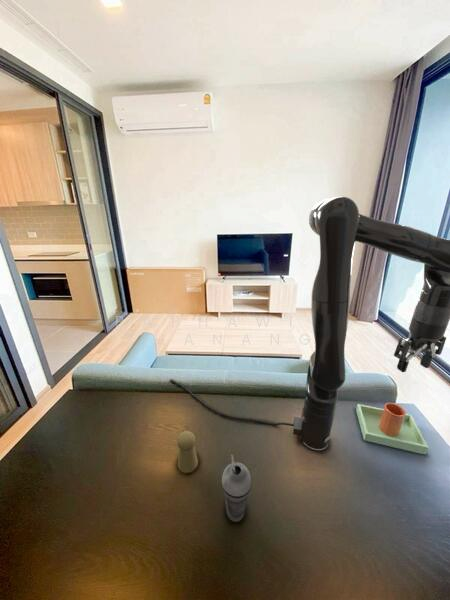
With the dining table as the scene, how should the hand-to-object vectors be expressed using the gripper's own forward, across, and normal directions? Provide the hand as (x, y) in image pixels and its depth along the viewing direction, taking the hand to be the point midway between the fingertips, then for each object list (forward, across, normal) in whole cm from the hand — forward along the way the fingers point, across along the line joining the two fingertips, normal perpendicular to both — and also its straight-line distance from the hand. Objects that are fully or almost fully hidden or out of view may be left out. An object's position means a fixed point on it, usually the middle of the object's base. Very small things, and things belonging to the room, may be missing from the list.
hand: (412, 368), depth 71 cm
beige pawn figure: (+30, +66, -8) cm, 73 cm away
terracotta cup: (+28, -3, -3) cm, 29 cm away
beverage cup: (+30, +55, +8) cm, 63 cm away
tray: (+29, -3, -3) cm, 29 cm away
